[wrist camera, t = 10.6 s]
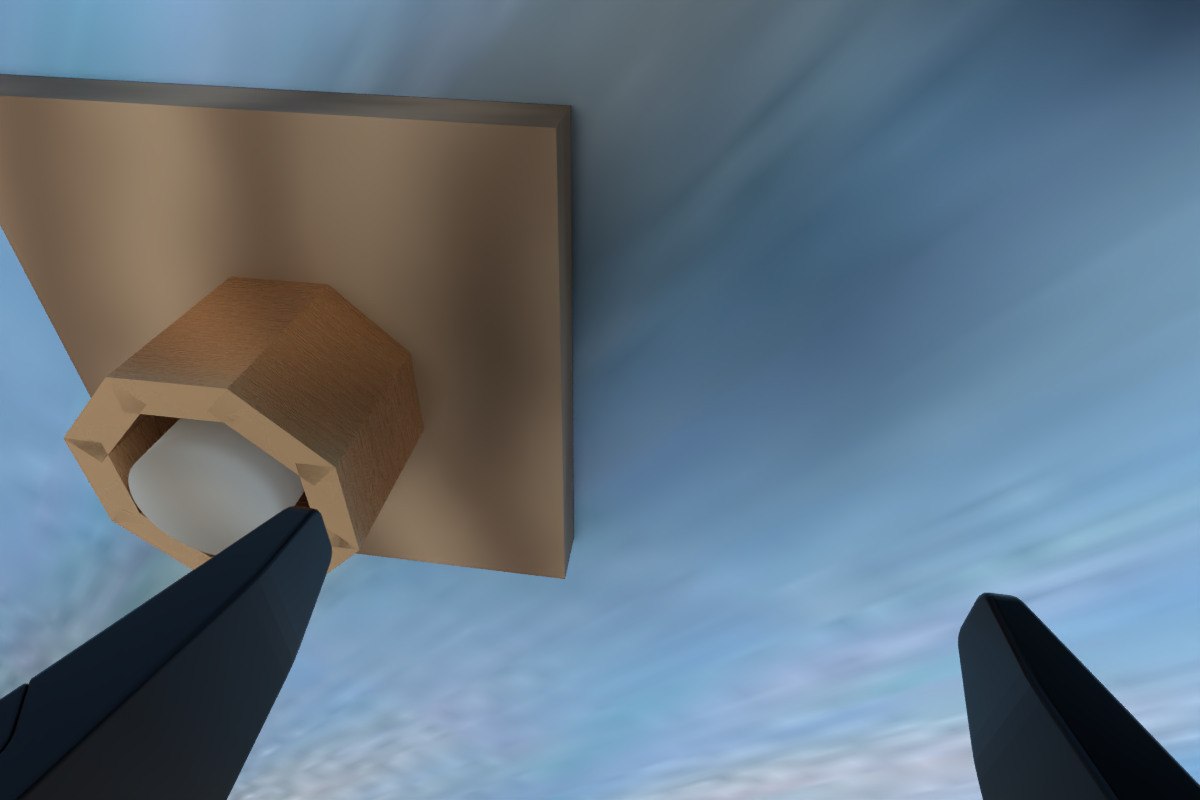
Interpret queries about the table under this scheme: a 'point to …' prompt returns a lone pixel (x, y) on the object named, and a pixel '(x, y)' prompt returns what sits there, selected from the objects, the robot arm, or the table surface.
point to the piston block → (324, 256)
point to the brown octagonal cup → (263, 403)
